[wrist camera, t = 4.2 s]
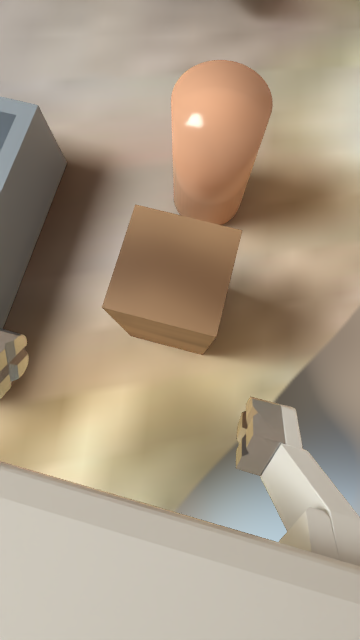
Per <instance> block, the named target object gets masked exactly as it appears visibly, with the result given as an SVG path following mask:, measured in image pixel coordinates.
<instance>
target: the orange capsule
mask: <svg viewBox="0 0 360 640" xmlns="http://www.w3.org/2000/svg"><path fill="white" fill-rule="evenodd" d="M271 112H272V96H271V92H270V89H269V87H268V85H267V84H266V82H265V81H264V80H263V78H262V77H261V76H260V75H259V74H258V73H256V72H255V71H254V70H252V69H251V68H249V67H247V66H245V65H243V64H240V63H237V62H233V61H227V60H213V61H207V62H204V63H200V64H198V65H196V66H194V67H192V68H190V69H189V70H187V71H186V72H185V73H184V74H183V75H182V76H181V77H180V78H179V79H178V81H177V82H176V84H175V86H174V89H173V92H172V97H171V113H172V151H173V189H174V203H175V206H176V209H177V211H178V212H179V214H180V215H181V216H185V217H189V218H193V219H197V220H201V221H206V222H210V223H214V224H218V225H223V224H225V223H226V222H228V221H229V220H231V219H232V218H233V217H234V216H235V214H236V213H237V211H238V209H239V206H240V203H241V200H242V197H243V194H244V192H245V189H246V186H247V183H248V180H249V177H250V174H251V171H252V168H253V165H254V162H255V159H256V156H257V153H258V150H259V147H260V144H261V141H262V139H263V136H264V133H265V130H266V127H267V124H268V121H269V118H270V115H271Z"/></svg>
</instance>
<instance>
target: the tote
mask: <svg viewBox="0 0 360 640" xmlns="http://www.w3.org/2000/svg"><path fill="white" fill-rule="evenodd" d="M66 164H67V162H66V160H65V158H64V156H63V154H62V152H61V150H60V148H59V146H58V144H57V142H56V140H55V138H54V136H53V134H52V132H51V130H50V128H49V126H48V124H47V122H46V120H45V118H44V116H43V114H42V112H41V110H40V108H39V106H38V105H35V104H30V103H26V102H22V101H17V100H13V99H9V98H4V97H0V328H2V329H3V327H4V324H5V322H6V319H7V317H8V314H9V311H10V309H11V306H12V304H13V301H14V298H15V296H16V293H17V291H18V288H19V286H20V283H21V280H22V278H23V275H24V273H25V270H26V268H27V265H28V262H29V260H30V257H31V255H32V252H33V250H34V247H35V244H36V242H37V239H38V237H39V234H40V231H41V229H42V226H43V224H44V221H45V219H46V216H47V213H48V211H49V208H50V206H51V203H52V201H53V198H54V195H55V193H56V190H57V188H58V185H59V183H60V180H61V177H62V175H63V172H64V170H65V167H66Z"/></svg>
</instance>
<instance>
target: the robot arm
mask: <svg viewBox="0 0 360 640" xmlns="http://www.w3.org/2000/svg"><path fill="white" fill-rule="evenodd" d="M26 345H27V340H26V336H24V335H22V334H18V333H15V332H12V331H8V330H5V329H2V328H0V399H1V398H2V397H3V396H4V395H5V394H6V393H7V391H8V390H9V389H10V388H11V382H12V381H14V380H17V379H19V378H20V377H21V376H22V375H23V373H24V372H25V370H26V368H27V366H28V360H29V357H28V353H27V351H26V350H25V349H24V347H25V346H26ZM237 441H238V442H239V446H238V448H237V450H236V468H237V469H240V470H243V471H246V472H249V473H252V474H256V475H259V476H261V477H260V478H261V480H262V482H263V484H264V485H265V488H266V489H267V491H268V493H269V495H270V498H271V500H272V502H273V504H274V505H275V508H276V510H277V512H278V513H279V516H280V518H281V520H282V522H283V524H284V526H285V528H286V530H287V533H286V534H285V535H284V536H283V537H282V538H281V540H280V541H279V542H275V541H272V540H269V539H265V538H262V537H258V536H255V535H252V534H248V533H245V532H241V531H238V530H234V529H231V528H227V527H224V526H221V525H217V524H214V523H210V522H207V521H204V520H200V519H197V518H193V517H190V516H187V515H183V514H180V513H176V512H173V511H169V510H166V509H163V508H159V507H156V506H152V505H149V504H145V503H142V502H139V501H135V500H132V499H128V498H125V497H121V496H118V495H115V494H111V493H108V492H104V491H101V490H98V489H94V488H91V487H87V486H84V485H80V484H77V483H74V482H70V481H67V480H63V479H60V478H56V477H53V476H50V475H46V474H43V473H39V472H36V471H32V470H29V469H26V468H22V467H19V466H15V465H12V464H8V463H5V462H2V461H0V640H360V517H359V516H358V515H357V513H356V512H355V511H354V509H353V508H352V507H351V506H350V504H349V503H348V502H347V500H346V499H345V498H344V497H343V495H342V494H341V493H340V492H339V490H338V489H337V488H336V486H335V485H334V484H333V483H332V481H331V480H330V479H329V477H328V476H327V475H326V474H325V472H324V471H323V470H322V469H321V468H320V466H319V465H318V463H317V462H316V461H315V460H314V458H313V457H312V456H311V454H310V453H309V452H308V451H307V450H304V449H303V447H302V441H301V436H300V430H299V425H298V419H297V414H296V410H295V409H294V408H293V407H289V406H285V405H281V404H277V403H274V402H270V401H266V400H262V399H258V398H254V397H250V398H249V399H248V401H247V403H246V411H244V412H242V414H241V417H240V419H239V423H238V428H237Z"/></svg>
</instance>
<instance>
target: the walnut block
mask: <svg viewBox="0 0 360 640" xmlns="http://www.w3.org/2000/svg"><path fill="white" fill-rule="evenodd" d="M241 234H242V230H239V229H235V228H230V227H226V226H222V225H218V224H214V223H210V222H206V221H201V220H197V219H193V218H189V217H185V216H181V215H177V214H173V213H168V212H164V211H160V210H156V209H152V208H148V207H144V206H139V205H135V207H134V210H133V213H132V216H131V220H130V223H129V226H128V229H127V232H126V235H125V238H124V241H123V244H122V247H121V250H120V253H119V256H118V260H117V263H116V266H115V269H114V272H113V275H112V278H111V281H110V284H109V287H108V290H107V293H106V296H105V300H104V303H103V306H102V308H103V309H104V310H105V311H106V312H107V313H108V314H109V315H110V316H111V317H112V318H113V319H114V320H115V321H116V322H117V323H118V324H119V325H120V326H121V327H122V328H123V329H124V330H125V331H126V332H127V333H128V334H129V335H130V336H133V337H137V338H141V339H145V340H148V341H152V342H156V343H160V344H163V345H167V346H171V347H175V348H179V349H182V350H186V351H190V352H194V353H197V354H201V355H203V354H204V352H205V351H206V350H207V348H208V347H209V346H210V345H211V343H212V342H213V341H214V339H215V338H216V336H217V332H218V328H219V324H220V320H221V316H222V312H223V308H224V304H225V300H226V295H227V291H228V287H229V283H230V279H231V275H232V271H233V267H234V263H235V258H236V254H237V250H238V246H239V242H240V238H241Z"/></svg>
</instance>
